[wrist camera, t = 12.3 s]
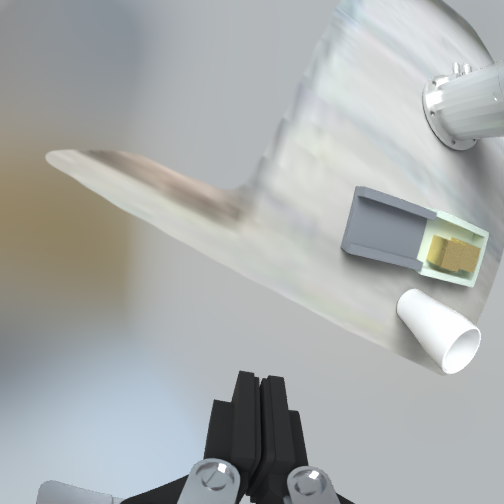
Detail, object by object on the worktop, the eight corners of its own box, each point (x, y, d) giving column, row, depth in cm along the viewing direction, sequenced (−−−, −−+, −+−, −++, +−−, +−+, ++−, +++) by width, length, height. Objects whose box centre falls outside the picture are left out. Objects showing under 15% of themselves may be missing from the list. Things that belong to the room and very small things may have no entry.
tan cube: (451, 236, 35) (466, 242, 31) (465, 242, 35) (480, 248, 31) (444, 261, 36) (458, 268, 32) (459, 265, 36) (473, 273, 32)
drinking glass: (432, 292, 38) (488, 334, 23) (410, 327, 39) (458, 378, 25) (406, 276, 37) (465, 319, 22) (383, 314, 38) (432, 370, 24)
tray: (425, 206, 34) (438, 209, 31) (476, 228, 35) (489, 232, 32) (409, 267, 37) (420, 274, 33) (461, 281, 37) (473, 287, 34)
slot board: (356, 186, 34) (365, 186, 31) (425, 210, 35) (437, 212, 31) (340, 247, 36) (348, 253, 33) (410, 264, 37) (421, 270, 33)
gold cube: (433, 234, 35) (448, 239, 31) (450, 240, 35) (465, 246, 31) (426, 259, 36) (440, 267, 32) (443, 264, 36) (457, 272, 32)
